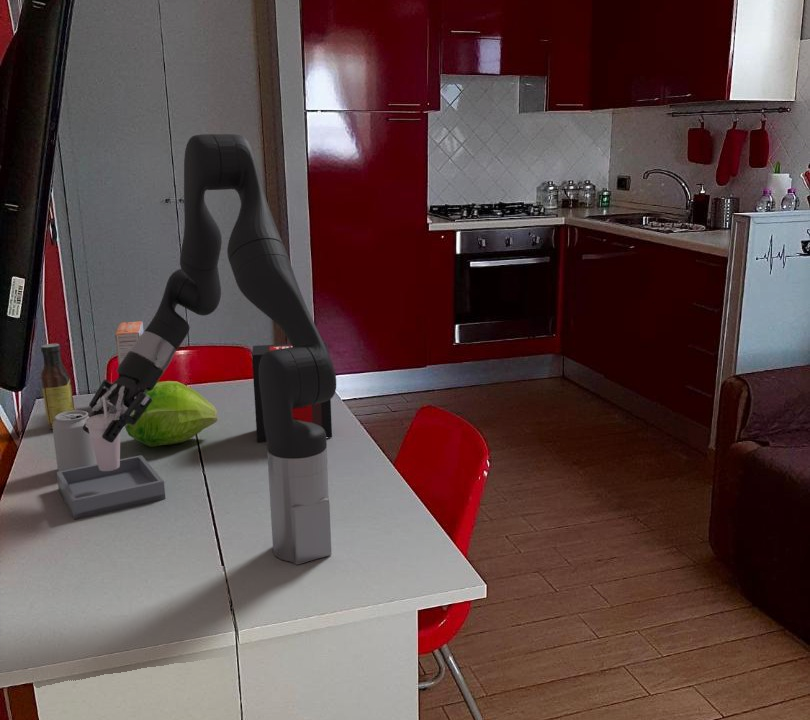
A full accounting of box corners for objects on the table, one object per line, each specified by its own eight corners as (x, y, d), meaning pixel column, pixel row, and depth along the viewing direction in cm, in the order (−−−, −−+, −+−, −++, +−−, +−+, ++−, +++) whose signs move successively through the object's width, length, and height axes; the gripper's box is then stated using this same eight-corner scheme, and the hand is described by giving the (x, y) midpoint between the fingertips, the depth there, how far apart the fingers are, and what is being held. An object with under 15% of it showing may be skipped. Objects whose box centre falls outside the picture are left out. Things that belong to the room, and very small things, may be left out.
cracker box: (127, 400, 211) (119, 321, 206) (151, 398, 213) (144, 320, 207) (122, 416, 198) (113, 333, 193) (148, 414, 199) (140, 331, 194)
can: (84, 478, 160) (77, 421, 157) (50, 476, 161) (43, 419, 158) (105, 464, 167) (98, 409, 164) (72, 462, 168) (65, 407, 165)
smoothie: (120, 473, 148) (111, 401, 145) (85, 474, 148) (76, 401, 145) (132, 460, 154) (124, 390, 151) (98, 461, 154) (90, 391, 151)
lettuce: (220, 449, 175) (216, 389, 172) (122, 459, 170) (116, 397, 167) (217, 427, 189) (213, 371, 186) (127, 435, 184) (121, 378, 181)
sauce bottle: (82, 425, 191) (72, 344, 187) (58, 433, 186) (48, 349, 181) (65, 421, 195) (55, 341, 190) (41, 428, 190) (30, 346, 185)
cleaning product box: (329, 425, 190) (326, 342, 185) (332, 437, 181) (328, 351, 176) (258, 429, 187) (253, 345, 182) (257, 442, 179) (251, 355, 174)
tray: (165, 498, 150) (163, 481, 149) (74, 519, 142) (72, 501, 141) (143, 471, 163) (141, 455, 162) (58, 488, 155) (56, 471, 154)
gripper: (112, 344, 156) (61, 418, 150) (155, 355, 147) (102, 434, 141) (139, 365, 161) (91, 437, 155) (182, 377, 152) (132, 454, 146)
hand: (96, 435), depth 148 cm, fingers closed on smoothie, 6 cm apart
